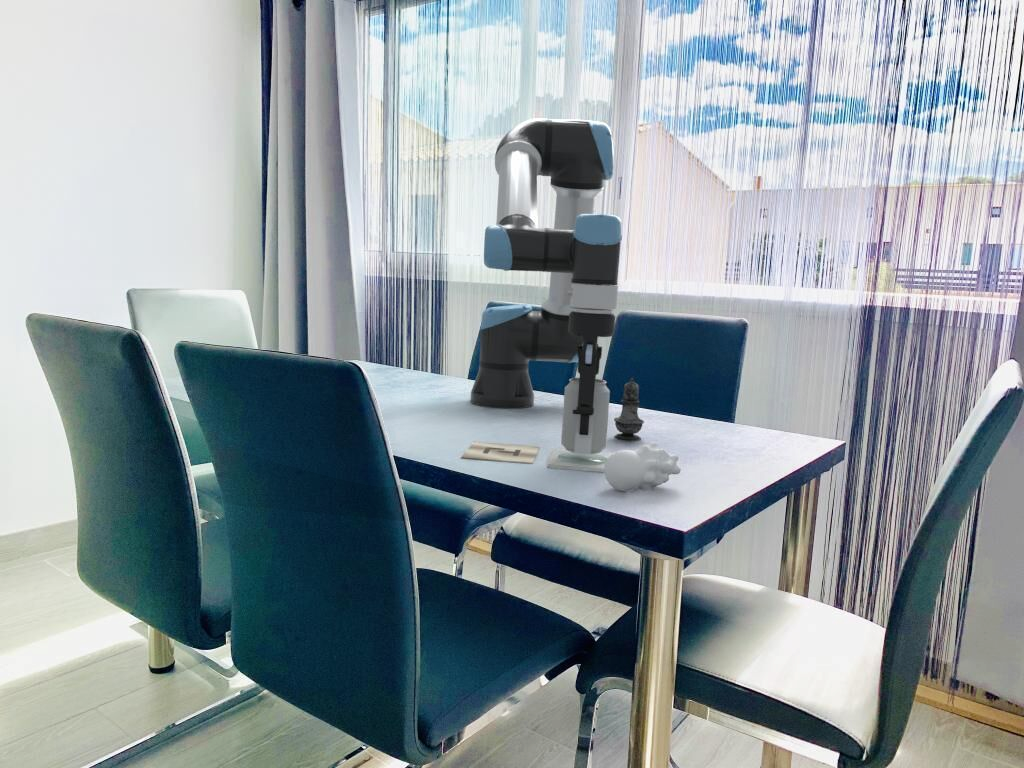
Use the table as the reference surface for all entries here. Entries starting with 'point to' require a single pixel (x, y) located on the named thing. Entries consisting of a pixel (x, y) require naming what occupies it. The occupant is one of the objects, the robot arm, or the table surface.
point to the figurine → (640, 468)
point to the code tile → (501, 452)
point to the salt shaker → (629, 414)
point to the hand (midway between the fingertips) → (583, 447)
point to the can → (598, 419)
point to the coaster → (577, 460)
